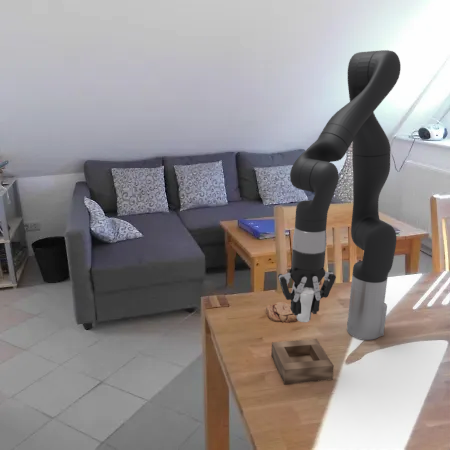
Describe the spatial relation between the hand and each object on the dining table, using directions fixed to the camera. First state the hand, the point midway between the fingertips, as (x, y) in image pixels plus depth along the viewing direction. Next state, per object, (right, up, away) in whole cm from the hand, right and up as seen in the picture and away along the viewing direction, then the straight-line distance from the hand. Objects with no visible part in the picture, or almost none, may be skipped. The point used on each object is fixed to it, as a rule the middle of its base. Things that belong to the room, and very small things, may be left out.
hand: (304, 312), depth 117 cm
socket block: (0, -14, +5) cm, 15 cm away
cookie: (-2, -7, +31) cm, 31 cm away
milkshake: (0, -2, +1) cm, 2 cm away
